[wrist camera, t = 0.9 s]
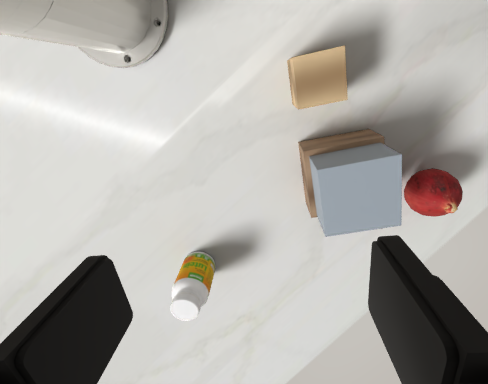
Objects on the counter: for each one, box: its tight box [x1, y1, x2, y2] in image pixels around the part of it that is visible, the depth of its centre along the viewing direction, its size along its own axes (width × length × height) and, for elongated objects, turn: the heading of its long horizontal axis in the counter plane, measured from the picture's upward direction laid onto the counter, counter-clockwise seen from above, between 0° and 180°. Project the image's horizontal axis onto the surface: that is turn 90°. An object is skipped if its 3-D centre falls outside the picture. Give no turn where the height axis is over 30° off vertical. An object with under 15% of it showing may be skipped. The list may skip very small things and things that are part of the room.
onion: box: [404, 168, 462, 216], centre depth 32 cm, size 6×6×8 cm
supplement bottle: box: [170, 252, 215, 321], centre depth 40 cm, size 5×5×10 cm
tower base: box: [298, 129, 384, 218], centre depth 34 cm, size 9×9×5 cm
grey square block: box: [309, 142, 402, 237], centre depth 29 cm, size 8×8×5 cm
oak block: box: [287, 46, 347, 109], centre depth 29 cm, size 5×5×6 cm
